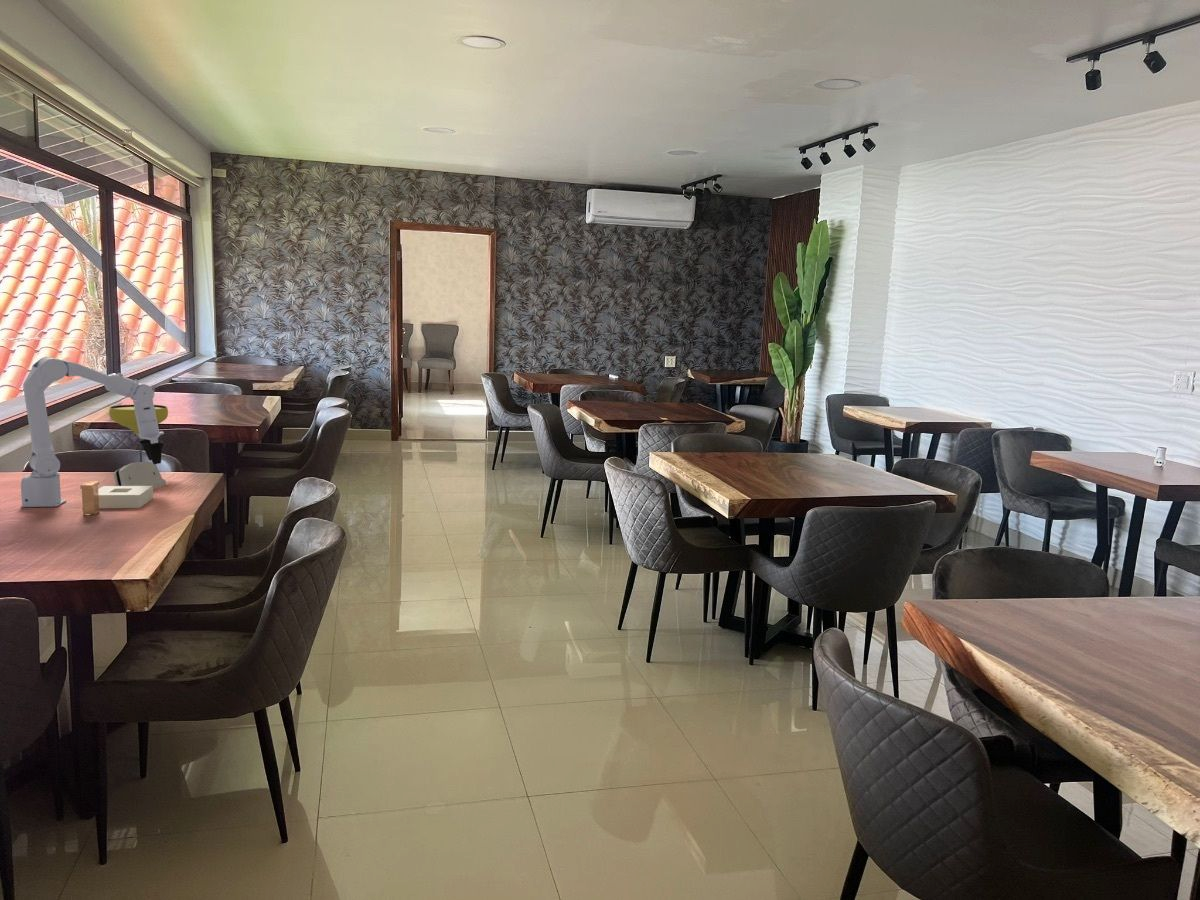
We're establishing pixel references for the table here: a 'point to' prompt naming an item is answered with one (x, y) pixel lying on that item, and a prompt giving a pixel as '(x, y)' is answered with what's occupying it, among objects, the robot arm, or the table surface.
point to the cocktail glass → (134, 417)
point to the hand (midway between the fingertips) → (155, 461)
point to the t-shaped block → (90, 497)
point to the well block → (124, 496)
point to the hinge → (139, 475)
